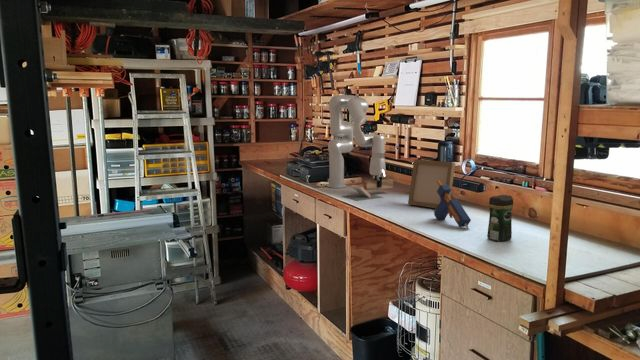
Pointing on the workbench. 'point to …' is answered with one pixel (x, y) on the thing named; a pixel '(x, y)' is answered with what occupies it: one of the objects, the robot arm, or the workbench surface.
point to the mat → (361, 197)
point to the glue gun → (450, 207)
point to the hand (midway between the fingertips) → (377, 186)
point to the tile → (361, 190)
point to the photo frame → (429, 182)
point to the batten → (373, 184)
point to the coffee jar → (500, 218)
